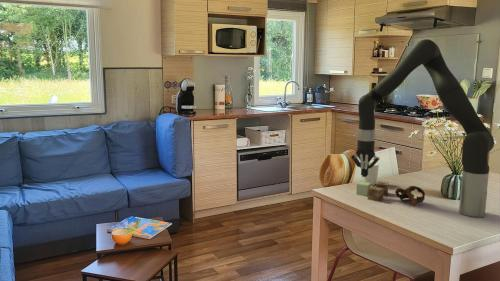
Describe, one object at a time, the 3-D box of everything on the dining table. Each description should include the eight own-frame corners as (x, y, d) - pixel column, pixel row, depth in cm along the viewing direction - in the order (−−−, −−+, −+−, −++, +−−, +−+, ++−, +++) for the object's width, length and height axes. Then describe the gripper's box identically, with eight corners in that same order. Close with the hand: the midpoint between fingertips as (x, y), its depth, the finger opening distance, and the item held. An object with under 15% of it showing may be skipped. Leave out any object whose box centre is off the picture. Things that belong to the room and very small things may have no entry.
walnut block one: (387, 192, 205) (388, 182, 204) (386, 195, 200) (387, 184, 199) (376, 191, 207) (377, 180, 206) (375, 194, 202) (376, 183, 201)
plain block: (370, 193, 204) (370, 183, 203) (367, 196, 200) (367, 185, 199) (359, 191, 206) (360, 181, 206) (356, 194, 202) (356, 183, 201)
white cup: (360, 184, 218) (361, 165, 216) (361, 180, 225) (362, 161, 224) (377, 186, 216) (378, 166, 214) (377, 182, 223) (378, 162, 221)
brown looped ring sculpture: (418, 200, 196) (426, 187, 191) (419, 215, 189) (428, 202, 183) (391, 192, 197) (398, 179, 192) (392, 207, 189) (399, 194, 184)
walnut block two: (383, 199, 196) (383, 187, 195) (378, 201, 192) (379, 190, 191) (372, 196, 199) (373, 185, 198) (367, 199, 195) (368, 188, 194)
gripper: (383, 139, 198) (381, 176, 201) (354, 136, 205) (352, 173, 208) (378, 141, 192) (376, 180, 195) (349, 138, 199) (347, 176, 202)
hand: (364, 176), depth 201 cm, fingers closed
